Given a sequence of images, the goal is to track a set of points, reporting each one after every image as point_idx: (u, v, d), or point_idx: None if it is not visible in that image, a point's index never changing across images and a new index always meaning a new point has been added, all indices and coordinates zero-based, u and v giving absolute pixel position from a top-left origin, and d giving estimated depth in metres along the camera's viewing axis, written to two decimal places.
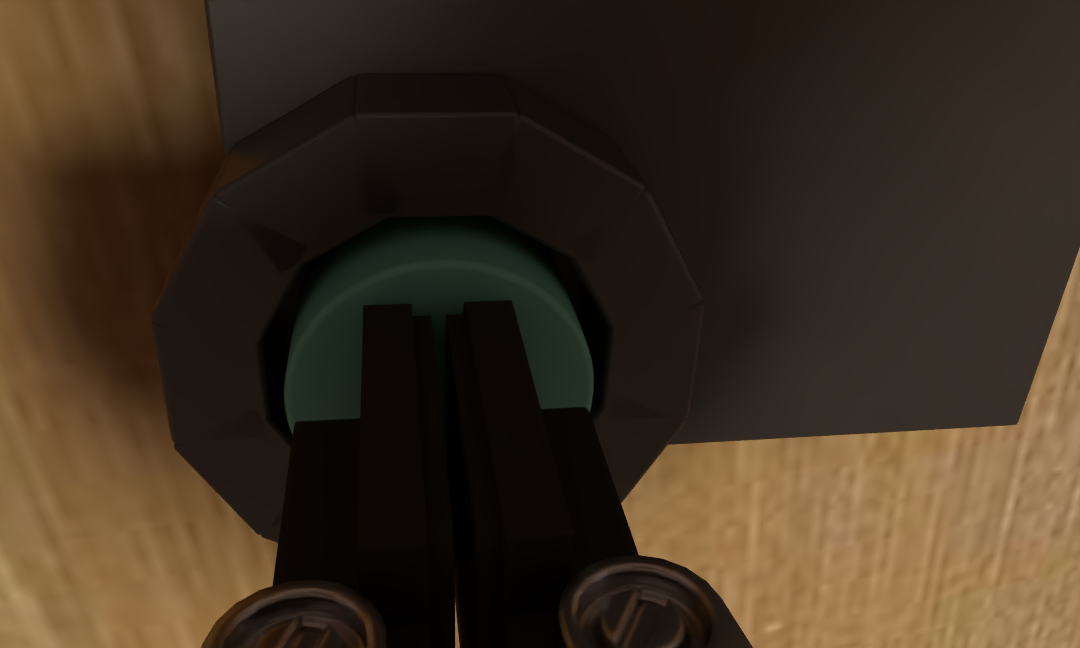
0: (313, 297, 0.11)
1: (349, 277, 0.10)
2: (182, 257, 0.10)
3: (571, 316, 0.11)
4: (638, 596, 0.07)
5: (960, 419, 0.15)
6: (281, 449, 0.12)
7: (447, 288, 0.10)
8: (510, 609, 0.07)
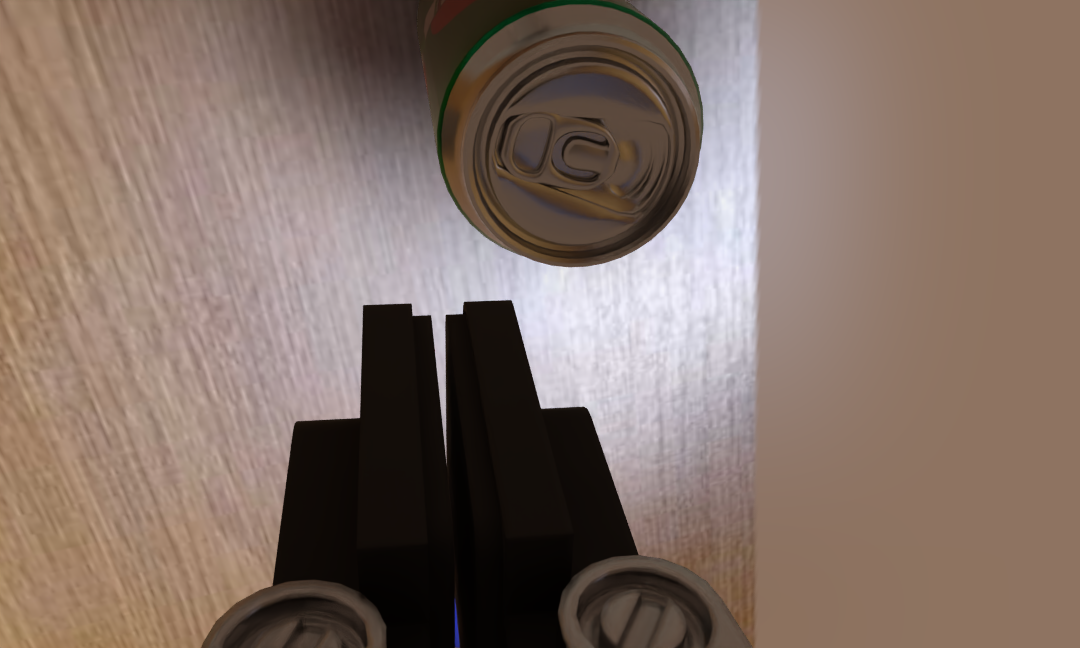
0: None
1: None
2: None
3: None
4: (639, 596, 0.07)
5: None
6: None
7: None
8: (510, 609, 0.07)
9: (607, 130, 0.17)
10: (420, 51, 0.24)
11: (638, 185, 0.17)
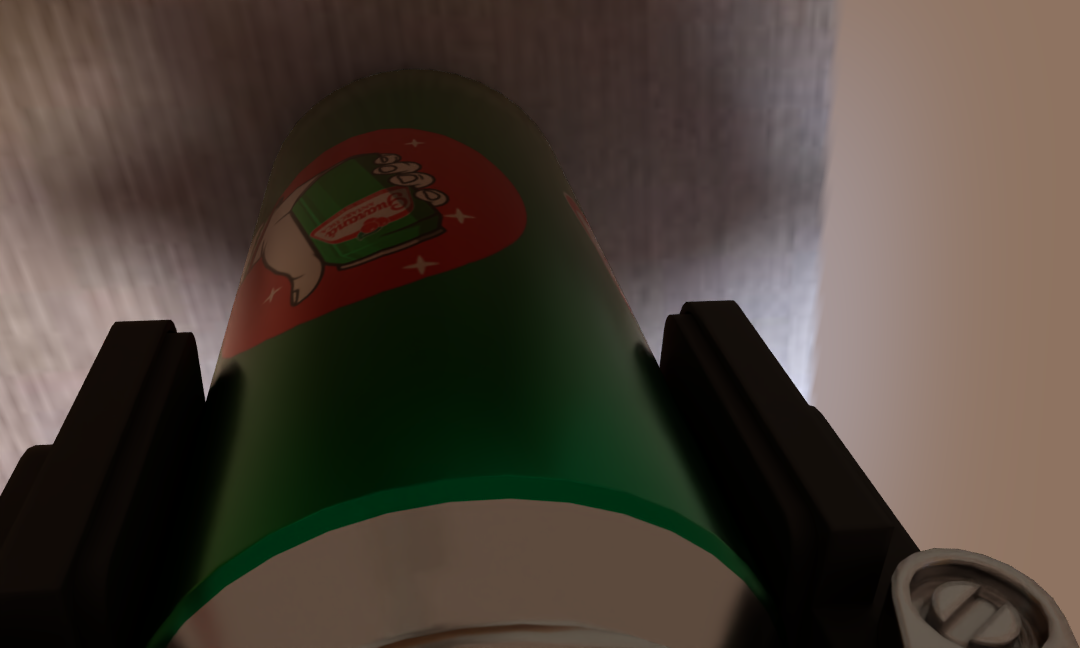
0: None
1: None
2: None
3: None
4: (976, 590, 0.07)
5: None
6: None
7: None
8: (819, 600, 0.07)
9: None
10: None
11: None
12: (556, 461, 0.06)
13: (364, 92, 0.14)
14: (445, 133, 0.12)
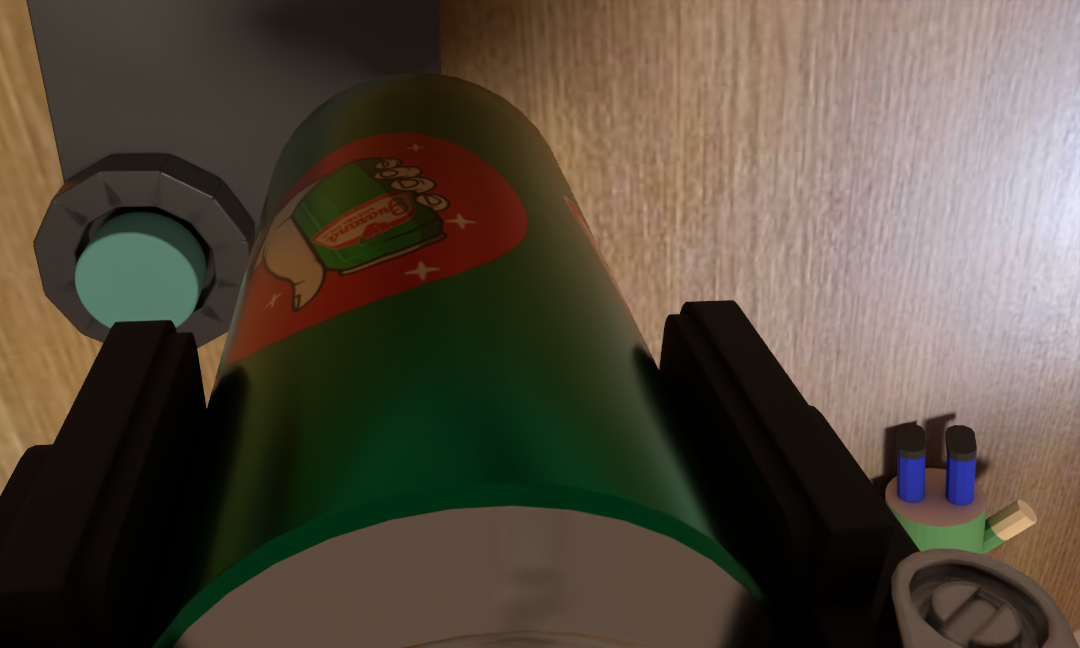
0: None
1: (96, 238, 0.28)
2: (43, 220, 0.29)
3: (182, 253, 0.29)
4: (976, 590, 0.07)
5: None
6: None
7: (131, 242, 0.28)
8: (819, 600, 0.07)
9: None
10: None
11: None
12: (558, 467, 0.06)
13: (365, 96, 0.14)
14: (445, 137, 0.12)
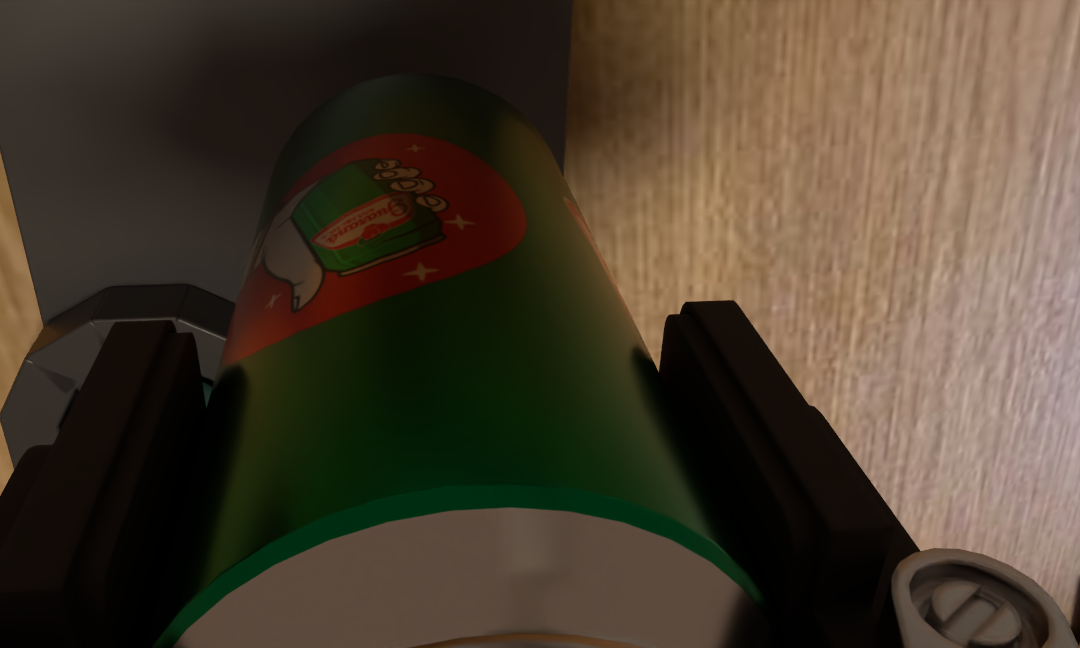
0: None
1: None
2: (12, 387, 0.21)
3: None
4: (976, 590, 0.07)
5: None
6: None
7: None
8: (819, 600, 0.07)
9: None
10: None
11: None
12: (555, 470, 0.06)
13: (364, 96, 0.14)
14: (444, 138, 0.12)
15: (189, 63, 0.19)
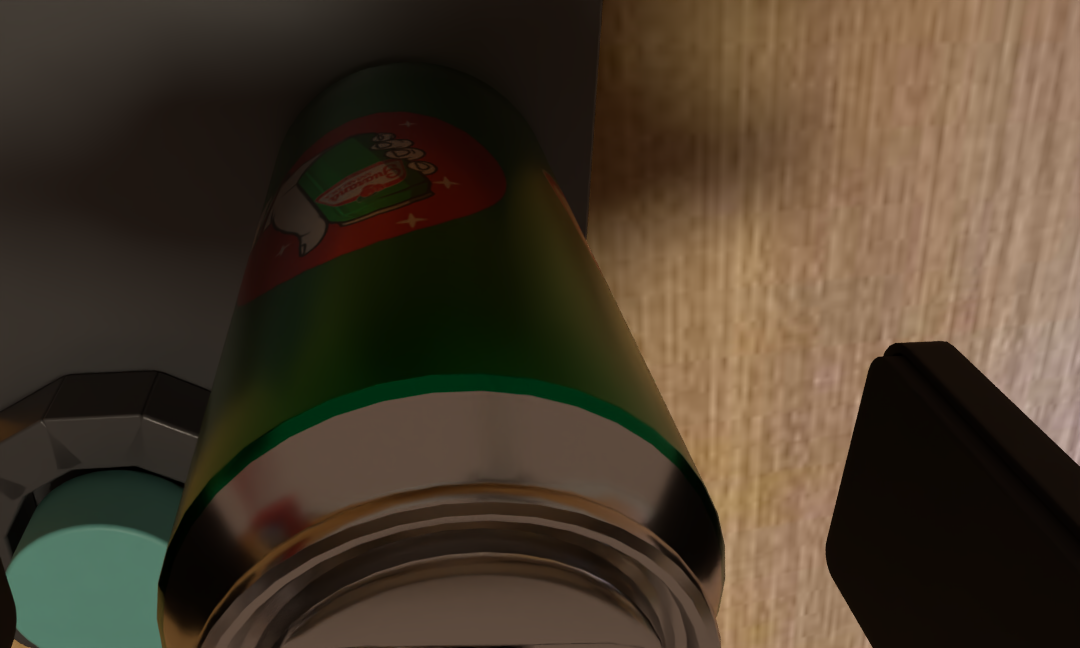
0: (21, 539, 0.18)
1: (36, 532, 0.17)
2: None
3: None
4: None
5: None
6: None
7: (93, 540, 0.17)
8: None
9: None
10: None
11: None
12: (522, 365, 0.08)
13: (362, 82, 0.15)
14: (435, 116, 0.13)
15: (155, 125, 0.17)
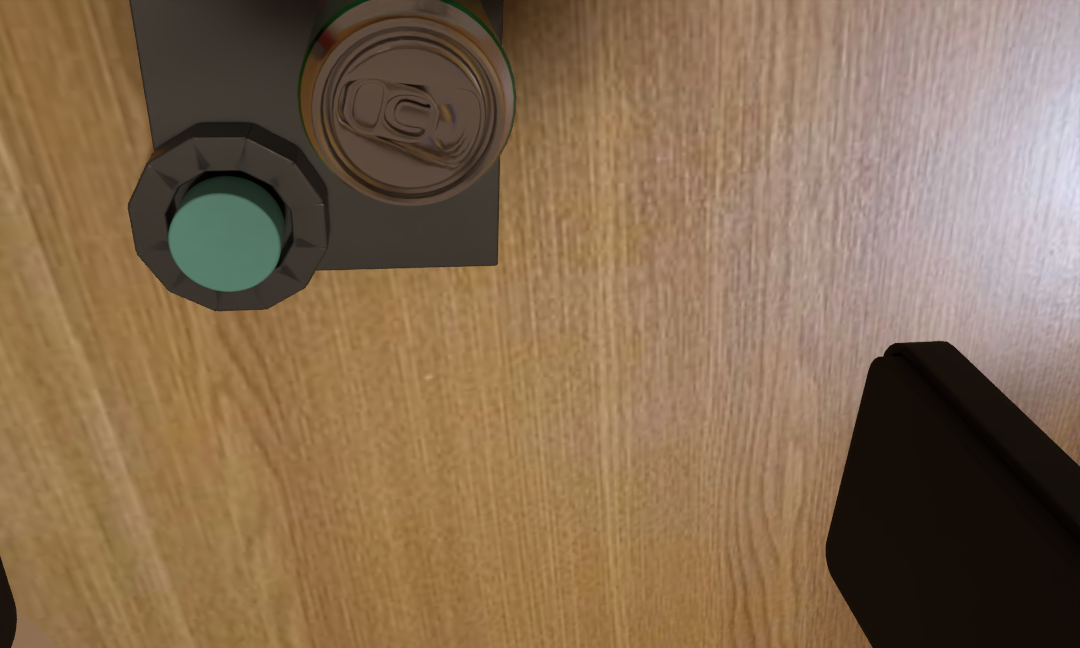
0: (178, 207, 0.31)
1: (189, 199, 0.31)
2: (138, 184, 0.31)
3: (267, 213, 0.31)
4: None
5: (469, 262, 0.36)
6: None
7: (221, 202, 0.31)
8: None
9: (428, 95, 0.21)
10: None
11: (458, 141, 0.22)
12: None
13: None
14: None
15: None
